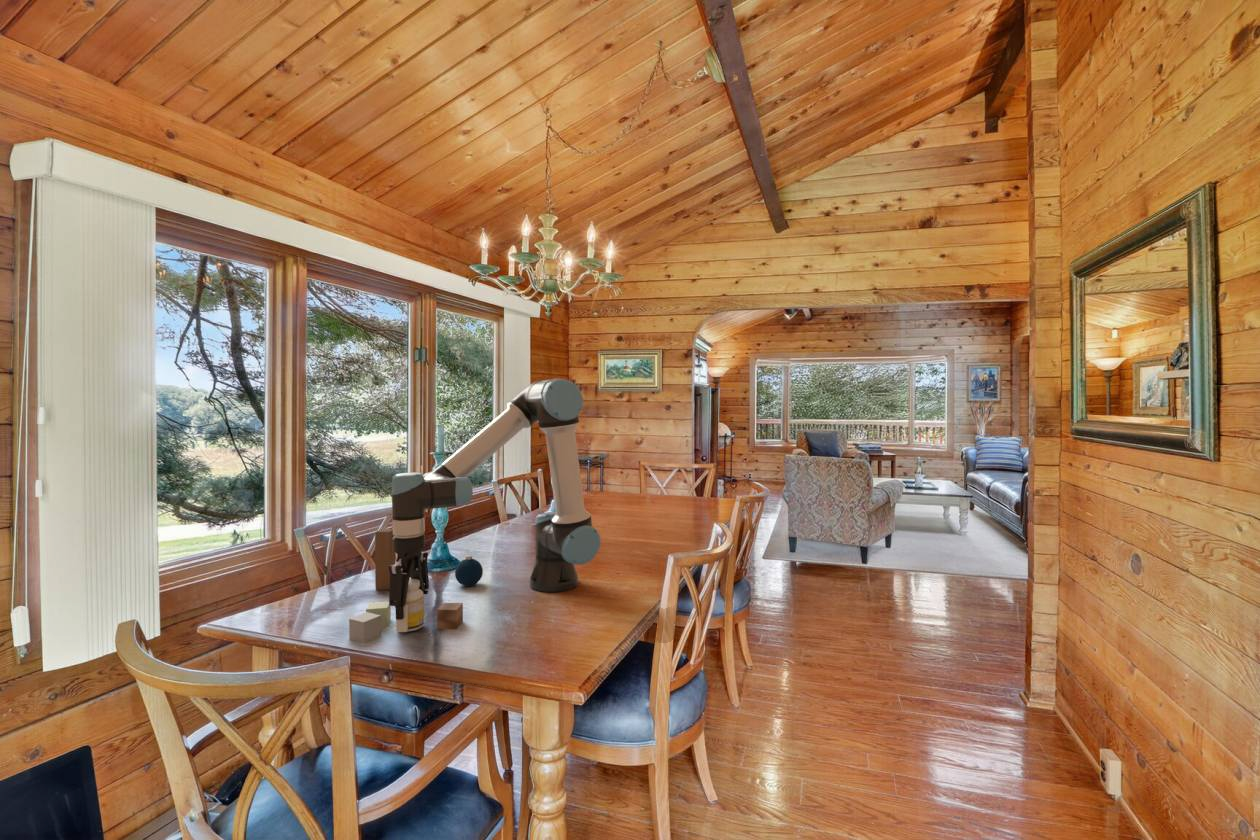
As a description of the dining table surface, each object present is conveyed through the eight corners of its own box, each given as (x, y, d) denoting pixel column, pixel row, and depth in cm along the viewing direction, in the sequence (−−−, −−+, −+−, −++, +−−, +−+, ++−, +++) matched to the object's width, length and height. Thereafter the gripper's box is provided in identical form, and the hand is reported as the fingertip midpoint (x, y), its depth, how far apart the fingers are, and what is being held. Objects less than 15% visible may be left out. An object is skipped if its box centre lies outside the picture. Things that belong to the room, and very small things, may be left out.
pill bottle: (401, 622, 146) (400, 578, 146) (427, 621, 147) (426, 577, 146) (392, 633, 140) (392, 586, 139) (419, 632, 140) (419, 585, 140)
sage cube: (390, 620, 150) (390, 601, 150) (387, 627, 145) (387, 607, 145) (370, 621, 149) (370, 602, 149) (366, 628, 144) (365, 609, 144)
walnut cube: (462, 621, 149) (462, 603, 149) (456, 629, 144) (456, 609, 144) (443, 621, 149) (443, 602, 149) (437, 629, 144) (437, 609, 144)
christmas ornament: (486, 586, 178) (486, 554, 178) (460, 591, 173) (460, 558, 173) (477, 579, 185) (477, 549, 184) (451, 584, 180) (451, 552, 180)
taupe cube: (381, 635, 140) (381, 615, 140) (363, 643, 135) (363, 622, 135) (367, 631, 142) (366, 612, 142) (349, 639, 138) (349, 618, 138)
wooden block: (409, 585, 179) (409, 528, 178) (404, 590, 174) (404, 531, 174) (380, 585, 178) (380, 528, 178) (374, 590, 174) (374, 531, 173)
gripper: (416, 525, 153) (418, 610, 154) (370, 543, 134) (372, 640, 134) (442, 526, 151) (443, 612, 152) (399, 544, 132) (401, 642, 133)
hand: (410, 625), depth 143 cm, fingers closed on pill bottle, 6 cm apart
